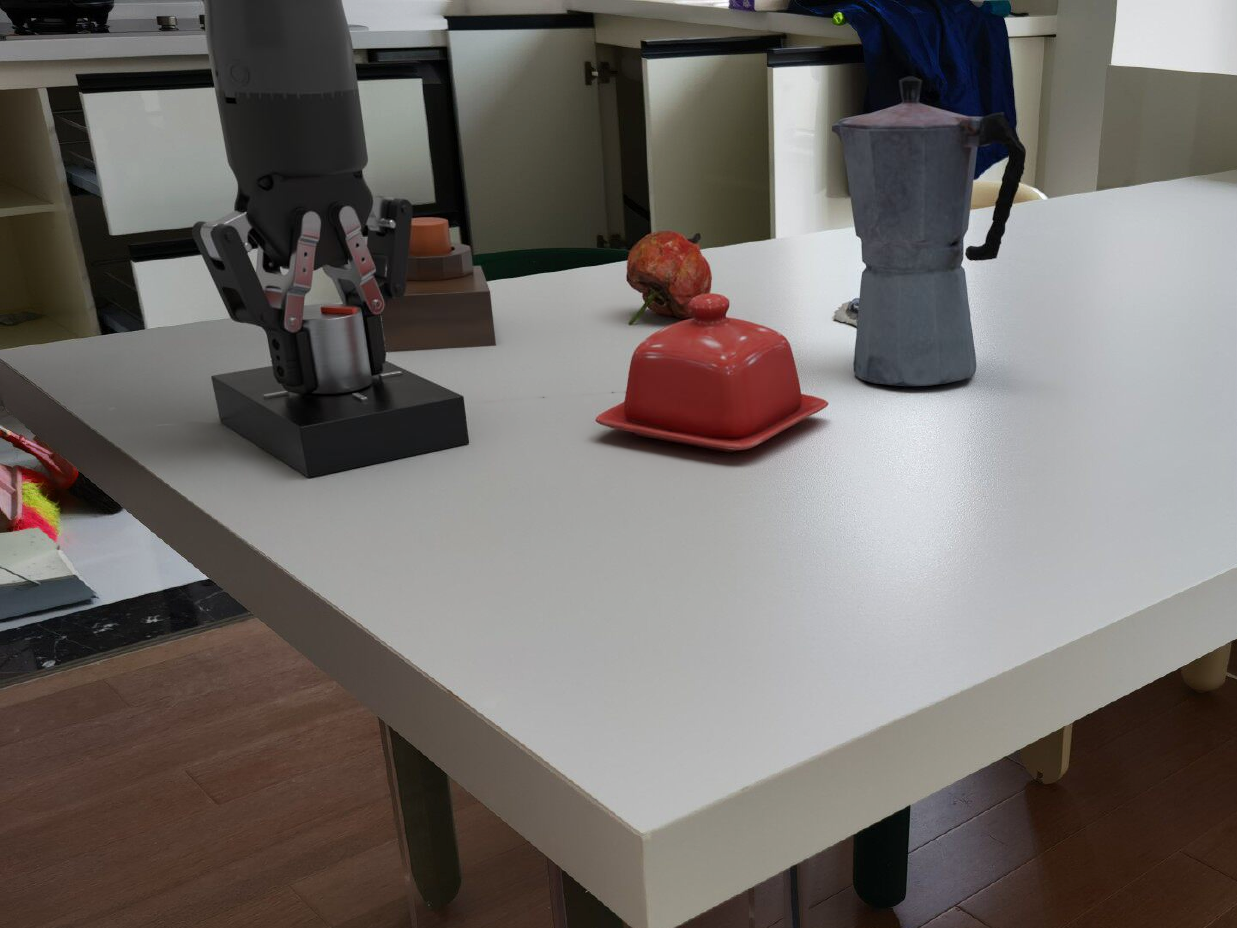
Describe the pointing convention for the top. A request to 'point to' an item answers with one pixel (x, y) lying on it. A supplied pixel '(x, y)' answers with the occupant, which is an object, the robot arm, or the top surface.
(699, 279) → the pomegranate
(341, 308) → the hob knob
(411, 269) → the control block
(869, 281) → the moka pot
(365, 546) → the top surface
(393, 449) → the panel
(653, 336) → the butter dish
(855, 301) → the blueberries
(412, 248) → the button
